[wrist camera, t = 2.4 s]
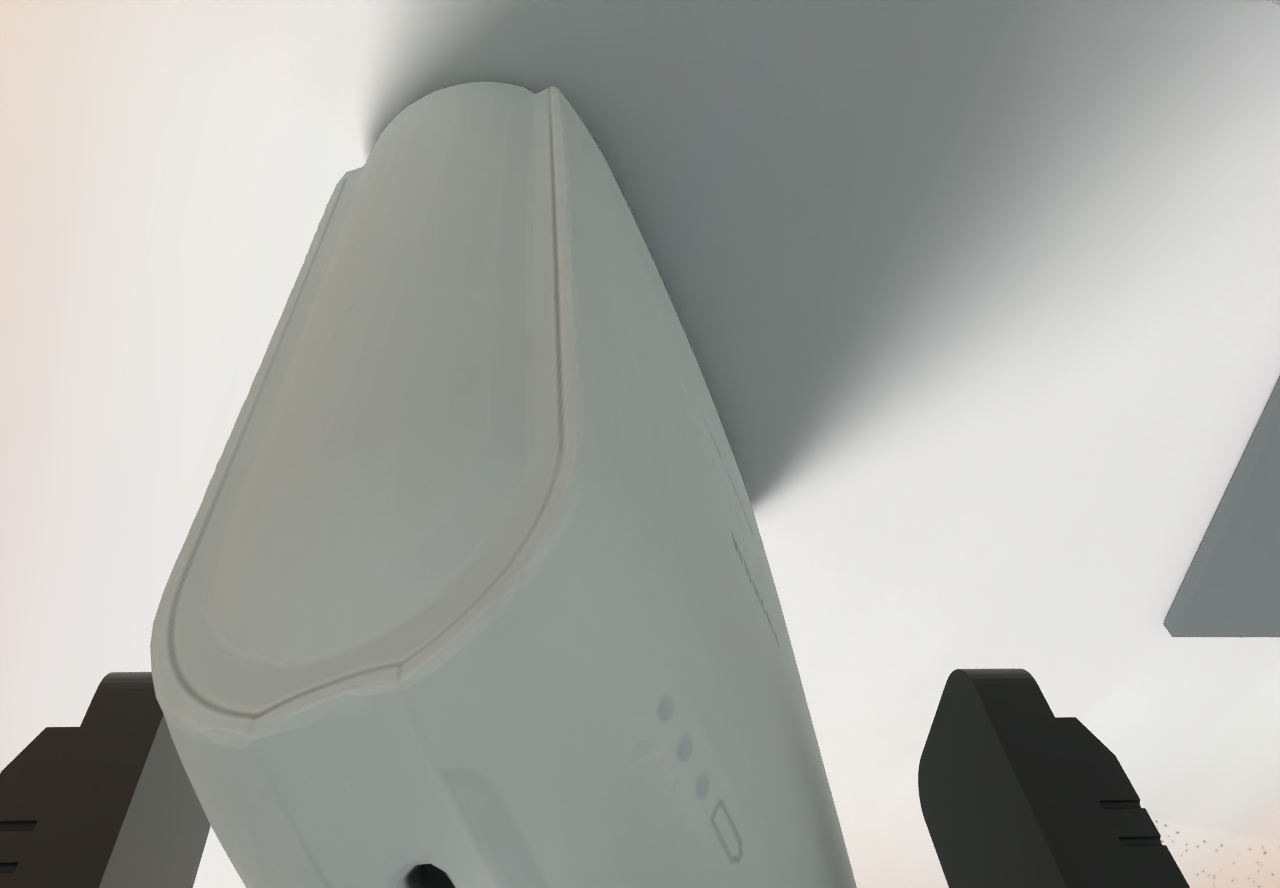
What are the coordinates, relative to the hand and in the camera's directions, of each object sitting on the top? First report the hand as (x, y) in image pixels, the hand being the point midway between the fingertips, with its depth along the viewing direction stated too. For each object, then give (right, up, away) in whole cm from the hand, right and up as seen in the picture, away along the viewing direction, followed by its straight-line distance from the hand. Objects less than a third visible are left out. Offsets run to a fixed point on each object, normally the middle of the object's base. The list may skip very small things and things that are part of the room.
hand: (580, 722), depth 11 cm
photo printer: (-1, +5, +7) cm, 8 cm away
